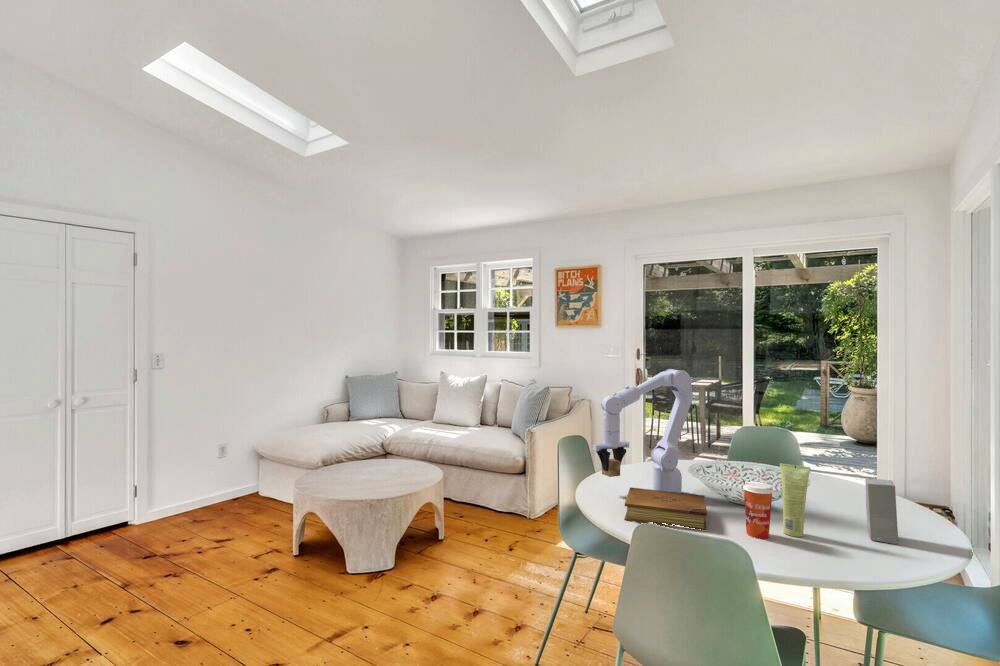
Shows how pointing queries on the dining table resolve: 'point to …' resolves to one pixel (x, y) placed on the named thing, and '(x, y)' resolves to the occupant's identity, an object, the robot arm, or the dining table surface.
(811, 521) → the dining table surface
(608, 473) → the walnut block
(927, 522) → the dining table surface
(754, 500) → the paper cup
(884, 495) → the skincare box
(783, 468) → the tube
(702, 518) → the diary
